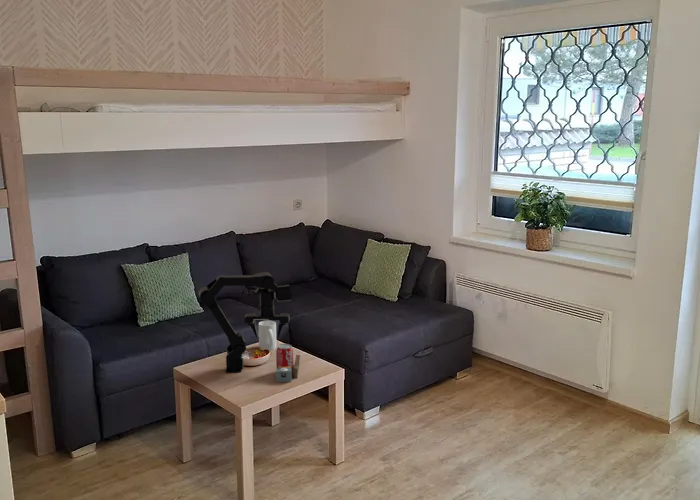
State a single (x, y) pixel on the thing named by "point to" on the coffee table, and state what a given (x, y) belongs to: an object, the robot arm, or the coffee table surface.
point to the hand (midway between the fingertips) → (267, 337)
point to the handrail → (296, 366)
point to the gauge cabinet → (283, 378)
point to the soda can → (284, 356)
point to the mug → (267, 334)
